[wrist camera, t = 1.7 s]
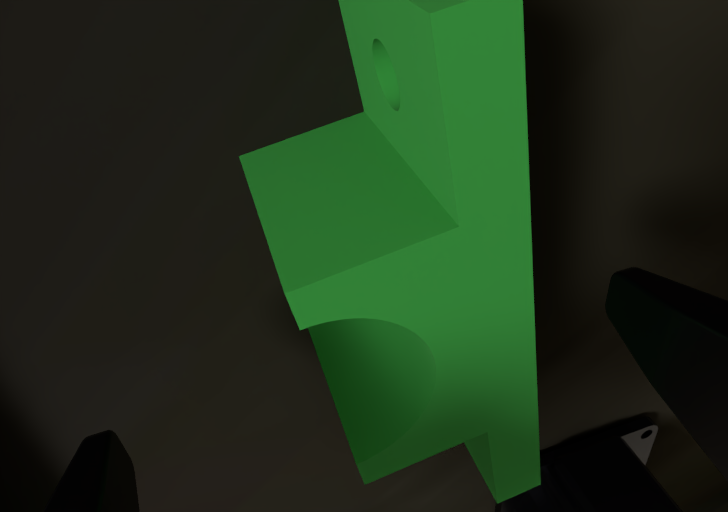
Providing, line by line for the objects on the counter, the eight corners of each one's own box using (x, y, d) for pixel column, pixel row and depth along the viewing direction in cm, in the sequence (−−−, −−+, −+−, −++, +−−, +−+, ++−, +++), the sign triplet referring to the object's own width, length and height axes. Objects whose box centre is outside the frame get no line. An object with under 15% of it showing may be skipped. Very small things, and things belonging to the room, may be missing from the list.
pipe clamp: (172, -6, 10) (196, 87, 6) (383, -74, 10) (524, -24, 6) (338, 402, 17) (394, 556, 13) (458, 352, 17) (544, 489, 13)
